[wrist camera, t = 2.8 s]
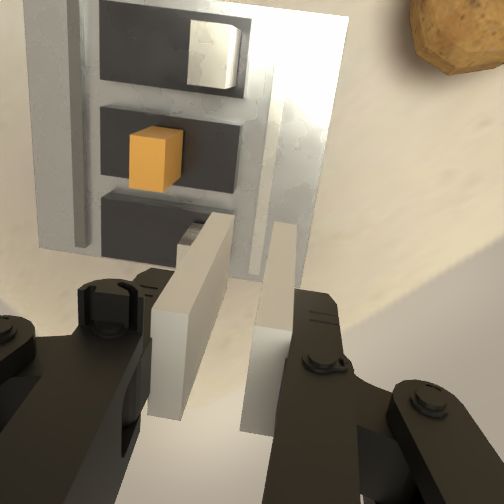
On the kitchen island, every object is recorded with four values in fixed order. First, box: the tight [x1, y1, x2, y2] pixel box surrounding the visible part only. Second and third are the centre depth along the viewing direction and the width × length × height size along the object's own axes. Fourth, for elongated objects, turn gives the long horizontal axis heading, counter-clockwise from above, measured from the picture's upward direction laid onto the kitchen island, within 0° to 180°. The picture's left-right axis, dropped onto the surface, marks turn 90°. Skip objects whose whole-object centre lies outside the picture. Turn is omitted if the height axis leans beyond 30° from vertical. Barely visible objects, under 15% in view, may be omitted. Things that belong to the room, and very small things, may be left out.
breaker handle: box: [129, 126, 183, 193], centre depth 27 cm, size 2×3×4 cm, turn 173°
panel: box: [23, 0, 348, 288], centre depth 29 cm, size 20×18×8 cm
